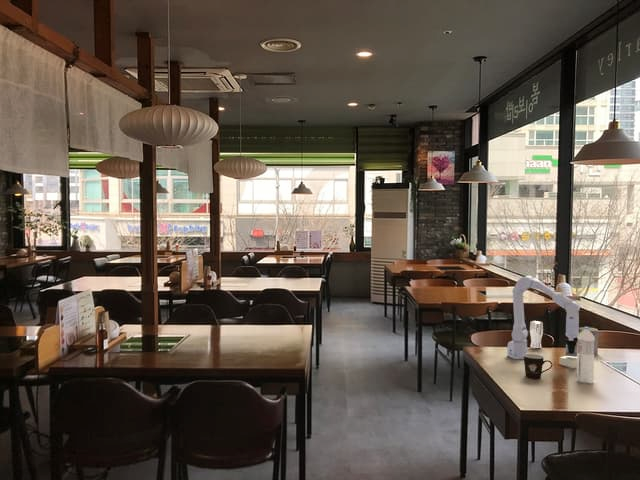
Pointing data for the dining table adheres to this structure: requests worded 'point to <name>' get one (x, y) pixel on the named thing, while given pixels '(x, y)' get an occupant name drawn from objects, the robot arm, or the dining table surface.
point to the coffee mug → (534, 366)
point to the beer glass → (536, 333)
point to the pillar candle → (595, 333)
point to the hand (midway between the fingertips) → (571, 352)
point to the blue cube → (570, 353)
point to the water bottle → (585, 357)
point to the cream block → (568, 361)
